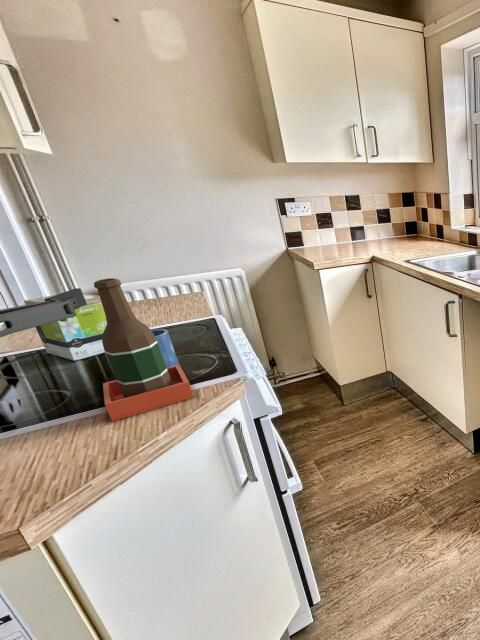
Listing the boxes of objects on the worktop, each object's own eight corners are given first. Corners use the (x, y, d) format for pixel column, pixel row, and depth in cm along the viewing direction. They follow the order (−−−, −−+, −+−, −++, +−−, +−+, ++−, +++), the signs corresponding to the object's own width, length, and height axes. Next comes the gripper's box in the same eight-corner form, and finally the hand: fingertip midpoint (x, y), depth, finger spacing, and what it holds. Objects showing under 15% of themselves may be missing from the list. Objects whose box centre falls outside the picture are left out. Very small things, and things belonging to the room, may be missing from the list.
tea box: (122, 348, 113) (101, 294, 108) (73, 362, 105) (48, 305, 99) (93, 341, 119) (72, 290, 114) (45, 353, 111) (20, 299, 105)
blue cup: (141, 375, 96) (125, 335, 92) (178, 366, 100) (165, 327, 97) (144, 385, 91) (127, 342, 88) (183, 375, 96) (169, 334, 92)
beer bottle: (126, 395, 86) (79, 280, 77) (173, 383, 91) (133, 273, 82) (125, 409, 80) (74, 287, 72) (175, 396, 85) (133, 279, 76)
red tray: (109, 398, 86) (102, 383, 85) (184, 378, 94) (179, 364, 93) (112, 421, 78) (104, 404, 76) (194, 397, 86) (188, 381, 84)
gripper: (-255, 397, 45) (-62, 332, 64) (33, 366, 51) (131, 315, 70) (-307, 331, 42) (-89, 283, 61) (4, 307, 48) (114, 270, 67)
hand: (28, 300), depth 66 cm, fingers open, 13 cm apart
